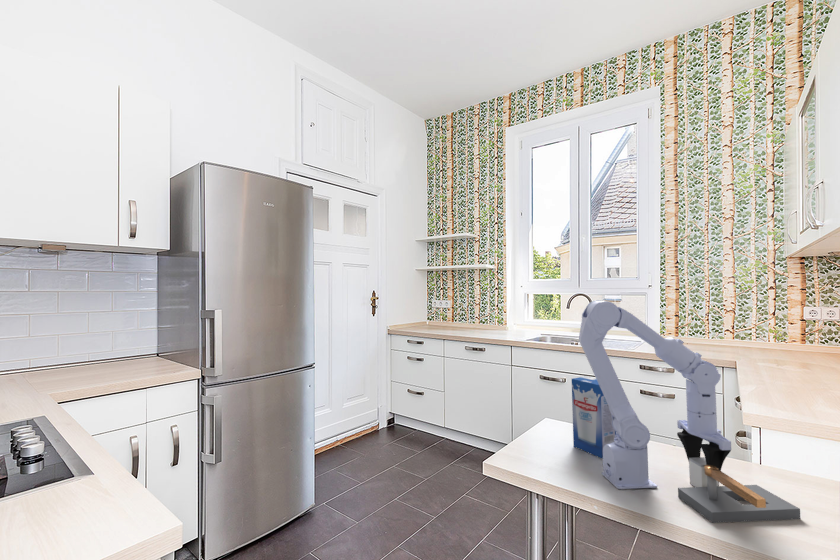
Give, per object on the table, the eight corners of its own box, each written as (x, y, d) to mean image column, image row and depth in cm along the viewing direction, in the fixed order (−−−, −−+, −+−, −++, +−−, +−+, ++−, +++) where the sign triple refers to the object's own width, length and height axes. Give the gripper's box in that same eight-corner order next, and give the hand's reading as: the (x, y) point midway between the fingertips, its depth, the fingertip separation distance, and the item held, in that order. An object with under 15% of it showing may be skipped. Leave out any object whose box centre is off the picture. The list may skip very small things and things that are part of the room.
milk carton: (573, 446, 119) (571, 378, 120) (588, 442, 122) (586, 376, 123) (602, 458, 111) (599, 385, 111) (617, 454, 113) (614, 382, 114)
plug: (702, 491, 92) (701, 465, 92) (689, 483, 96) (688, 457, 96) (719, 491, 92) (718, 464, 92) (706, 482, 96) (705, 457, 96)
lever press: (712, 522, 80) (711, 487, 80) (678, 496, 90) (677, 465, 90) (800, 518, 80) (798, 484, 80) (756, 493, 90) (755, 463, 90)
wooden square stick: (701, 472, 86) (701, 464, 86) (713, 471, 86) (713, 464, 86) (754, 507, 72) (754, 499, 72) (768, 507, 72) (768, 499, 72)
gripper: (743, 420, 87) (746, 483, 87) (695, 401, 102) (697, 456, 101) (712, 421, 87) (714, 485, 87) (668, 402, 102) (670, 457, 101)
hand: (703, 469), depth 94 cm, fingers open, 6 cm apart
